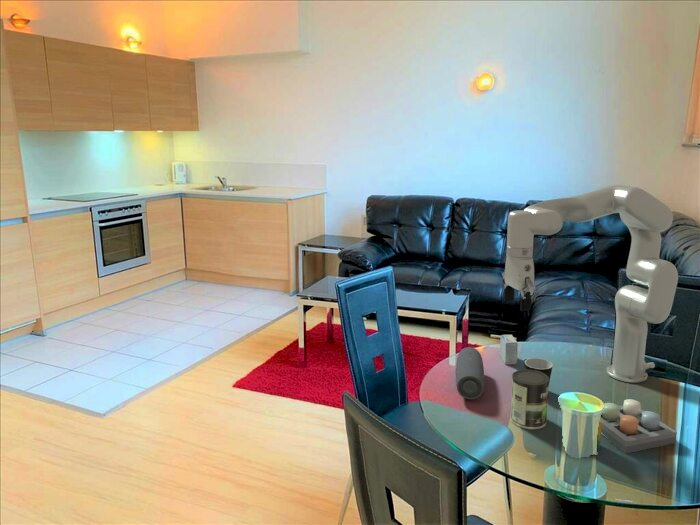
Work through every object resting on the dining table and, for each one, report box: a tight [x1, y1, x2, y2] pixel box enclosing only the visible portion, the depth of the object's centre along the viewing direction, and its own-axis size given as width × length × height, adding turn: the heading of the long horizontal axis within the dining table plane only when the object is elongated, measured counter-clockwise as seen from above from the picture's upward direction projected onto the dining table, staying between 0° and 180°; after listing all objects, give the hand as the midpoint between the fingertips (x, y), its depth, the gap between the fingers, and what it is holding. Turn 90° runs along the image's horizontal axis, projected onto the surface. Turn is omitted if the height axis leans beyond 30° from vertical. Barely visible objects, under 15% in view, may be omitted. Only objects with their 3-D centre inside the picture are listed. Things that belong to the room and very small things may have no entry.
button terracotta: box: [619, 415, 639, 434], centre depth 146 cm, size 4×4×3 cm
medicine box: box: [499, 334, 519, 366], centre depth 199 cm, size 8×4×9 cm, turn 179°
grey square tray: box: [600, 404, 677, 454], centre depth 151 cm, size 16×16×4 cm
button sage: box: [602, 402, 620, 421], centre depth 153 cm, size 4×4×3 cm
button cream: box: [622, 398, 642, 417], centre depth 155 cm, size 4×4×3 cm
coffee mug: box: [523, 357, 554, 383], centre depth 177 cm, size 12×9×10 cm
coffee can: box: [510, 368, 551, 430], centre depth 158 cm, size 10×10×14 cm
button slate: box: [641, 410, 661, 430], centre depth 148 cm, size 4×4×3 cm
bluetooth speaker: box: [454, 346, 485, 400], centre depth 180 cm, size 23×9×10 cm, turn 168°
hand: (516, 305), depth 167 cm, fingers open, 9 cm apart
